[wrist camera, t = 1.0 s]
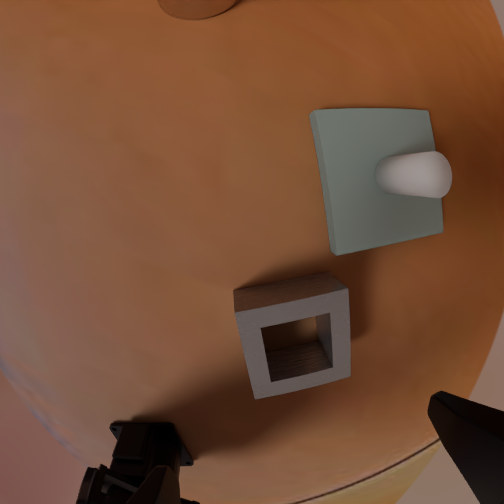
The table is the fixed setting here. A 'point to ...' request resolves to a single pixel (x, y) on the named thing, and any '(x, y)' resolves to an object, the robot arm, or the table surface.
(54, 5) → the table surface
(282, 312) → the square ring block
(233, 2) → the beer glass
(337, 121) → the shaft block
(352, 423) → the table surface
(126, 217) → the table surface
